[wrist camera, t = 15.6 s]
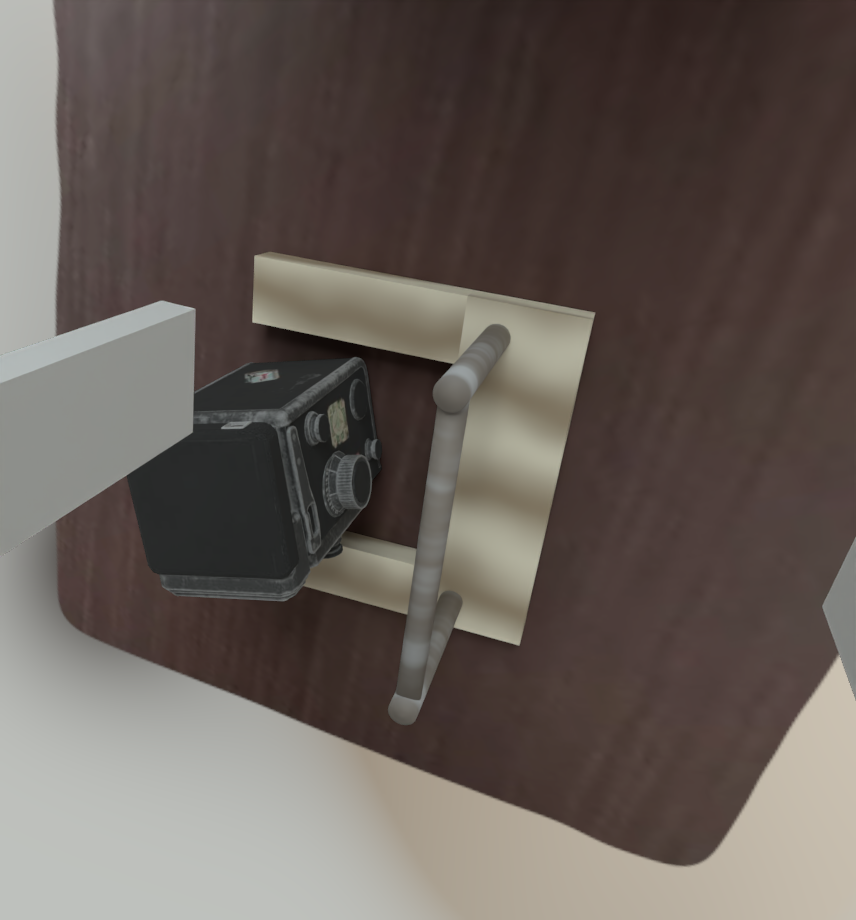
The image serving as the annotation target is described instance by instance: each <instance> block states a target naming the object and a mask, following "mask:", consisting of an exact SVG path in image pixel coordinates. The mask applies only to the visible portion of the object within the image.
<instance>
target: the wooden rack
mask: <svg viewBox="0 0 856 920" xmlns="http://www.w3.org/2000/svg"><path fill="white" fill-rule="evenodd" d="M594 316H595V312H590V311H584V310H579V309H574V308H568V307H563V306H558V305H552V304H547V303H542V302H536V301H531V300H525V299H520V298H515V297H509V296H504V295H499V294H493V293H488V292H483V291H477V290H472V289H467V288H461V287H456V286H451V285H445V284H440V283H435V282H429V281H424V280H418V279H413V278H408V277H402V276H397V275H392V274H386V273H381V272H376V271H370V270H365V269H360V268H354V267H349V266H344V265H338V264H333V263H327V262H322V261H317V260H311V259H306V258H301V257H295V256H290V255H285V254H279V253H274V252H267V253H263V254H260V255H256V256H255V258H254V289H253V319H252V322H254V323H259V324H264V325H268V326H273V327H278V328H283V329H288V330H293V331H297V332H302V333H307V334H312V335H317V336H321V337H326V338H331V339H336V340H341V341H346V342H350V343H355V344H360V345H365V346H370V347H375V348H379V349H384V350H389V351H394V352H399V353H403V354H408V355H413V356H418V357H423V358H428V359H432V360H437V361H442V362H447V363H452V364H453V365H452V366H451V367H450V369H449V370H448V371H447V372H446V373H445V374H444V375H443V376H442V377H441V378H440V380H439V381H438V382H437V383H436V384H435V386H434V388H433V399H434V401H435V403H436V405H437V413H436V419H435V426H434V433H433V440H432V447H431V454H430V461H429V468H428V475H427V481H426V488H425V495H424V502H423V509H422V516H421V523H420V530H419V537H418V543H417V549H415V548H411V547H407V546H403V545H399V544H395V543H391V542H388V541H384V540H380V539H376V538H372V537H368V536H364V535H361V534H357V533H353V532H349V531H345V532H344V533H343V534H342V536H341V538H342V540H341V542H340V544H342V547H343V551H342V553H341V554H340V555H338V556H336V557H333V558H329V559H323V560H322V561H321V562H320V563H319V565H318V566H316V567H313V568H310V571H311V572H310V574H309V575H308V578H307V579H306V580H305V581H306V583H305V584H304V585H303V586H306V587H309V588H313V589H316V590H320V591H324V592H327V593H331V594H335V595H338V596H342V597H345V598H349V599H353V600H356V601H360V602H363V603H367V604H371V605H374V606H378V607H382V608H385V609H389V610H392V611H396V612H400V613H403V614H407V619H406V626H405V633H404V640H403V647H402V654H401V661H400V668H399V674H398V681H397V688H396V692H395V694H394V696H393V698H392V700H391V702H390V705H389V707H388V713H389V715H390V717H391V718H392V719H393V720H394V721H395V722H397V723H399V724H402V725H410V724H412V723H414V722H415V720H416V718H417V716H418V713H419V711H420V708H421V706H422V703H423V701H424V699H425V696H426V694H427V691H428V689H429V686H430V684H431V681H432V679H433V676H434V674H435V671H436V669H437V667H438V664H439V662H440V659H441V657H442V654H443V652H444V649H445V647H446V644H447V642H448V639H449V637H450V634H451V632H452V630H453V627H454V628H457V629H461V630H465V631H468V632H472V633H476V634H479V635H483V636H486V637H490V638H494V639H497V640H501V641H504V642H508V643H512V644H515V645H520V641H521V637H522V633H523V630H524V625H525V621H526V617H527V612H528V608H529V603H530V599H531V594H532V590H533V586H534V581H535V577H536V572H537V568H538V564H539V559H540V555H541V550H542V546H543V542H544V537H545V533H546V528H547V524H548V519H549V515H550V511H551V506H552V502H553V497H554V493H555V489H556V484H557V480H558V475H559V471H560V466H561V462H562V458H563V453H564V449H565V444H566V440H567V436H568V431H569V427H570V422H571V418H572V413H573V409H574V405H575V400H576V396H577V391H578V387H579V383H580V378H581V374H582V369H583V365H584V361H585V356H586V352H587V347H588V343H589V338H590V334H591V330H592V325H593V321H594Z"/></svg>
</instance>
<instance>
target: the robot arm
mask: <svg viewBox="0 0 856 920" xmlns="http://www.w3.org/2000/svg"><path fill="white" fill-rule="evenodd" d="M194 354H195V309H194V308H190V307H186V306H182V305H177V304H173V303H169V302H165V301H159V302H156V303H153V304H150V305H147V306H144V307H142V308H139V309H136V310H133V311H130V312H127V313H124V314H121V315H118V316H115V317H112V318H109V319H106V320H103V321H100V322H97V323H94V324H91V325H88V326H85V327H82V328H79V329H76V330H73V331H70V332H68V333H65V334H62V335H59V336H56V337H53V338H50V339H47V340H44V341H41V342H38V343H35V344H32V345H29V346H26V347H23V348H20V349H17V350H14V351H12V352H8V353H5V354H3V355H0V557H1V556H3V555H4V554H6V553H7V552H9V551H10V550H12V549H14V548H15V547H16V546H18V545H20V544H21V543H23V542H24V541H26V540H27V539H29V538H30V537H32V536H33V535H35V534H37V533H38V532H40V531H41V530H43V529H44V528H46V527H47V526H49V525H51V524H52V523H54V522H55V521H57V520H58V519H60V518H61V517H63V516H64V515H66V514H68V513H69V512H71V511H72V510H74V509H75V508H77V507H78V506H80V505H81V504H83V503H85V502H86V501H88V500H89V499H91V498H92V497H94V496H95V495H97V494H98V493H100V492H102V491H103V490H105V489H106V488H108V487H109V486H111V485H112V484H114V483H115V482H117V481H118V480H120V479H122V478H123V477H125V476H126V475H128V474H129V473H131V472H132V471H134V470H135V469H137V468H139V467H140V466H142V465H143V464H145V463H146V462H148V461H149V460H151V459H152V458H154V457H156V456H157V455H159V454H160V453H162V452H163V451H165V450H166V449H168V448H169V447H171V446H173V445H174V444H176V443H177V442H179V441H180V440H182V439H183V438H185V437H186V436H188V435H190V434H191V433H193V401H194ZM822 608H823V611H824V613H825V616H826V619H827V622H828V624H829V627H830V630H831V633H832V636H833V638H834V641H835V644H836V647H837V649H838V652H839V655H840V658H841V660H842V663H843V666H844V669H845V672H846V674H847V677H848V680H849V683H850V685H851V688H852V691H853V694H854V696H855V699H856V537H855V540H854V542H853V544H852V546H851V548H850V550H849V552H848V554H847V556H846V558H845V560H844V562H843V564H842V566H841V568H840V570H839V573H838V575H837V577H836V579H835V581H834V583H833V585H832V587H831V589H830V591H829V593H828V595H827V597H826V599H825V601H824V604H823V606H822Z"/></svg>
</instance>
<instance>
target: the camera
mask: <svg viewBox="0 0 856 920" xmlns="http://www.w3.org/2000/svg"><path fill="white" fill-rule="evenodd" d="M381 453H382V446H381V442H380V440H378V439H377V436H376V429H375V422H374V415H373V408H372V401H371V394H370V386H369V379H368V372H367V368H366V364H365V363H364V361H363V360H362V359H361V358H358V357H353V358H343V359H324V360H306V361H287V362H268V363H252V362H251V363H247V364H245V365H243V366H242V367H240V368H238V369H236V370H234V371H232V372H230V373H228V374H227V375H225V376H223V377H221V378H219V379H217V380H215V381H213V382H212V383H210V384H208V385H206V386H204V387H202V388H200V389H198V390H197V391H195V392H194V401H193V433H191V434H190V435H188V436H186V437H185V438H183V439H182V440H180V441H179V442H177V443H176V444H174V445H173V446H171V447H169V448H168V449H166V450H165V451H163V452H162V453H160V454H159V455H157V456H156V457H154V458H152V459H151V460H149V461H148V462H146V463H145V464H143V465H142V466H140V467H139V468H137V469H135V470H134V471H132V472H131V473H129V474H128V475H127V479H128V483H129V487H130V492H131V496H132V500H133V504H134V508H135V512H136V516H137V520H138V525H139V529H140V533H141V537H142V541H143V545H144V549H145V554H146V558H147V562H148V566H149V567H150V568H151V570H152V571H153V572H154V573H157V574H159V575H160V579H161V584H162V587H164V588H165V589H166V590H168V591H170V592H172V593H173V594H174V595H176V596H191V597H210V598H230V599H249V600H269V601H285V600H288V599H289V598H291V597H293V596H295V595H296V594H297V593H298V591H299V590H300V589H301V588H302V586H303V585H304V584H305V583H306V581H305V580H306V579H307V578H308V575H309V574H310V572H311V571H310V568H313V567H316V566H318V565H319V563H320V562H321V561H322V560H323V559H329V558H333V557H336V556H338V555H340V554H341V553H342V551H343V547H342V544H340V542H341V540H342V538H341V536H342V534H343V533H344V532H345V530H346V529H347V528H348V527H349V526H350V524H351V523H352V522H353V520H354V519H355V518H356V517H357V515H358V514H359V513H360V512H361V510H362V509H363V508H365V507H366V506H367V504H368V502H369V499H370V494H371V486H372V480H373V479H374V478H375V477H376V475H377V474H378V473H379V472H380V471H381V469H382V466H381V464H380V458H381Z"/></svg>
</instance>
